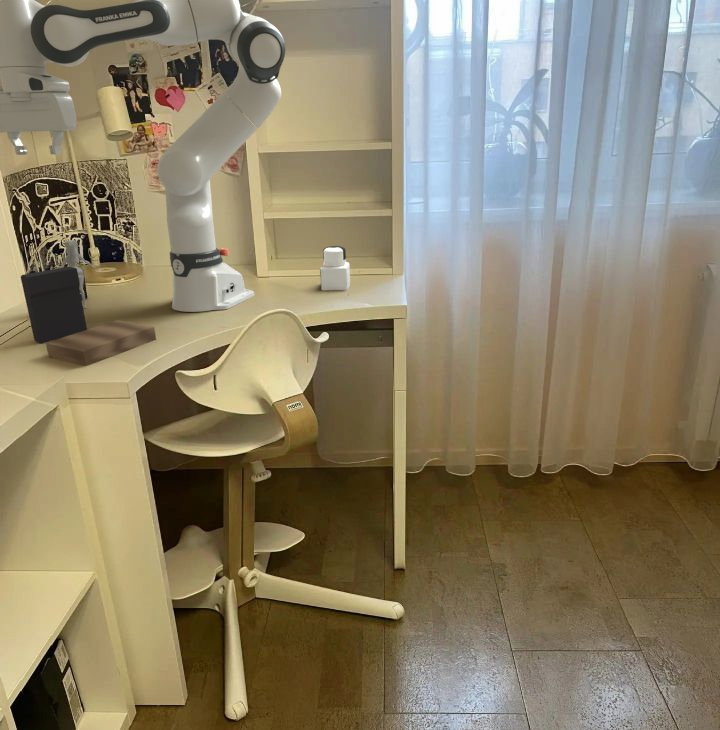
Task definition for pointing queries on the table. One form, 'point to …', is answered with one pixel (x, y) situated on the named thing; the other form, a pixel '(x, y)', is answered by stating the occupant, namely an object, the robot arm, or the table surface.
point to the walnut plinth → (100, 342)
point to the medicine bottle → (335, 269)
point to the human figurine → (75, 264)
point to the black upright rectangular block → (54, 303)
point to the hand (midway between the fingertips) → (38, 154)
